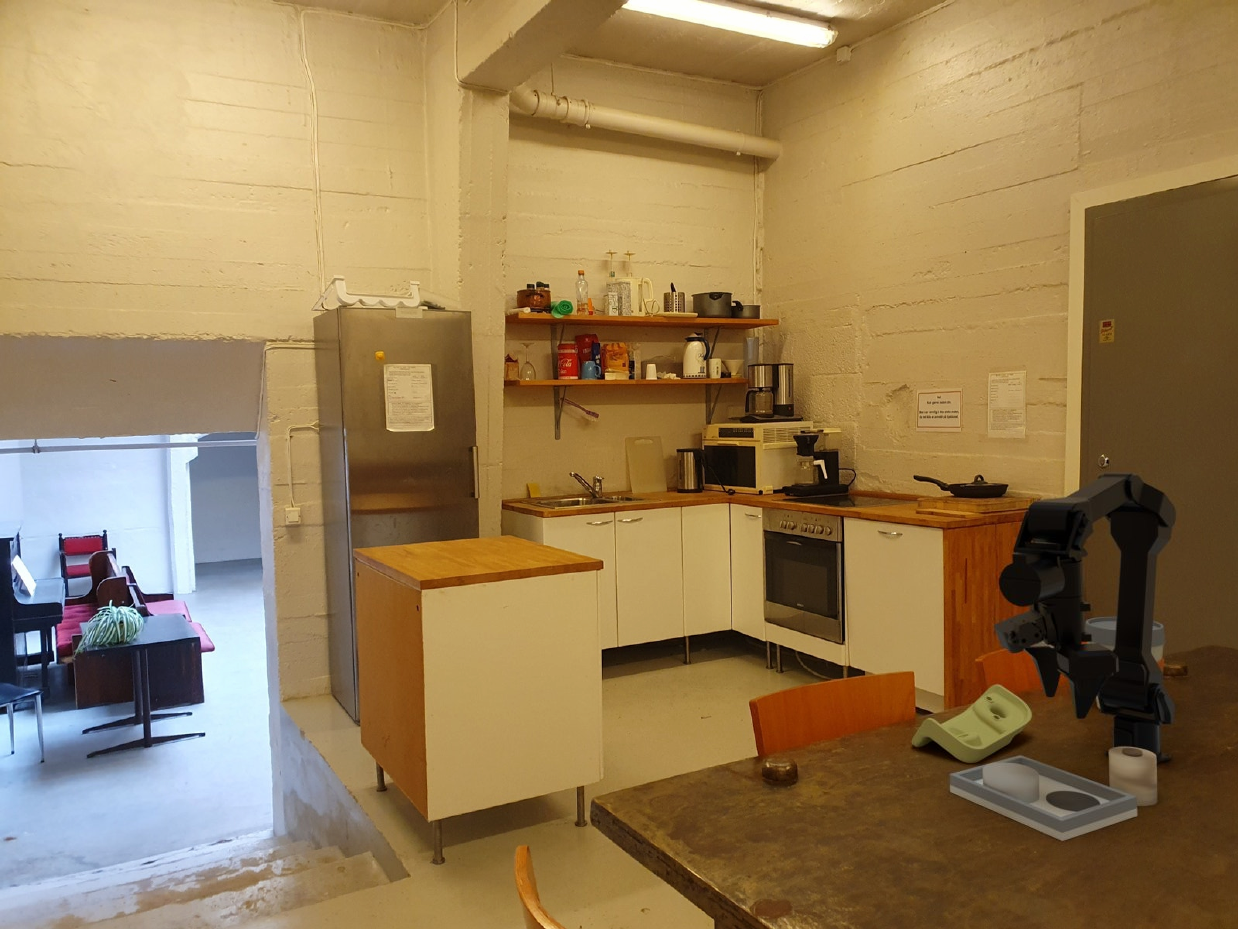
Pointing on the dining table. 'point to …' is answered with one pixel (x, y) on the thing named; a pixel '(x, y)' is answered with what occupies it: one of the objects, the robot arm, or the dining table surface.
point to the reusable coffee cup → (1105, 636)
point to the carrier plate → (1044, 796)
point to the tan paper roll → (1134, 773)
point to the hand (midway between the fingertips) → (1064, 707)
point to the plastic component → (978, 726)
